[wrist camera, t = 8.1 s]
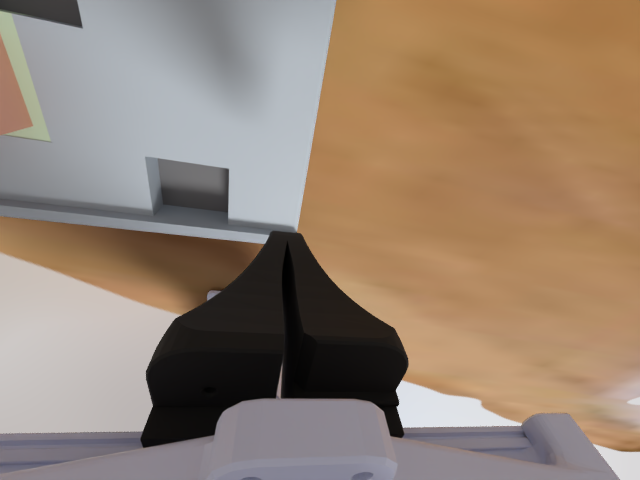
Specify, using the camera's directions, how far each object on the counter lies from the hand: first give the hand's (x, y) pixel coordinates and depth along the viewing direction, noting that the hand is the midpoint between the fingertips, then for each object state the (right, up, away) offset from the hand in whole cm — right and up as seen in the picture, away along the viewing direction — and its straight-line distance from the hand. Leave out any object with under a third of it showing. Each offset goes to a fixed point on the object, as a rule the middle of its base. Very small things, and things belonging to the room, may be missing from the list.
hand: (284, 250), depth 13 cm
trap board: (-10, +9, +5) cm, 14 cm away
